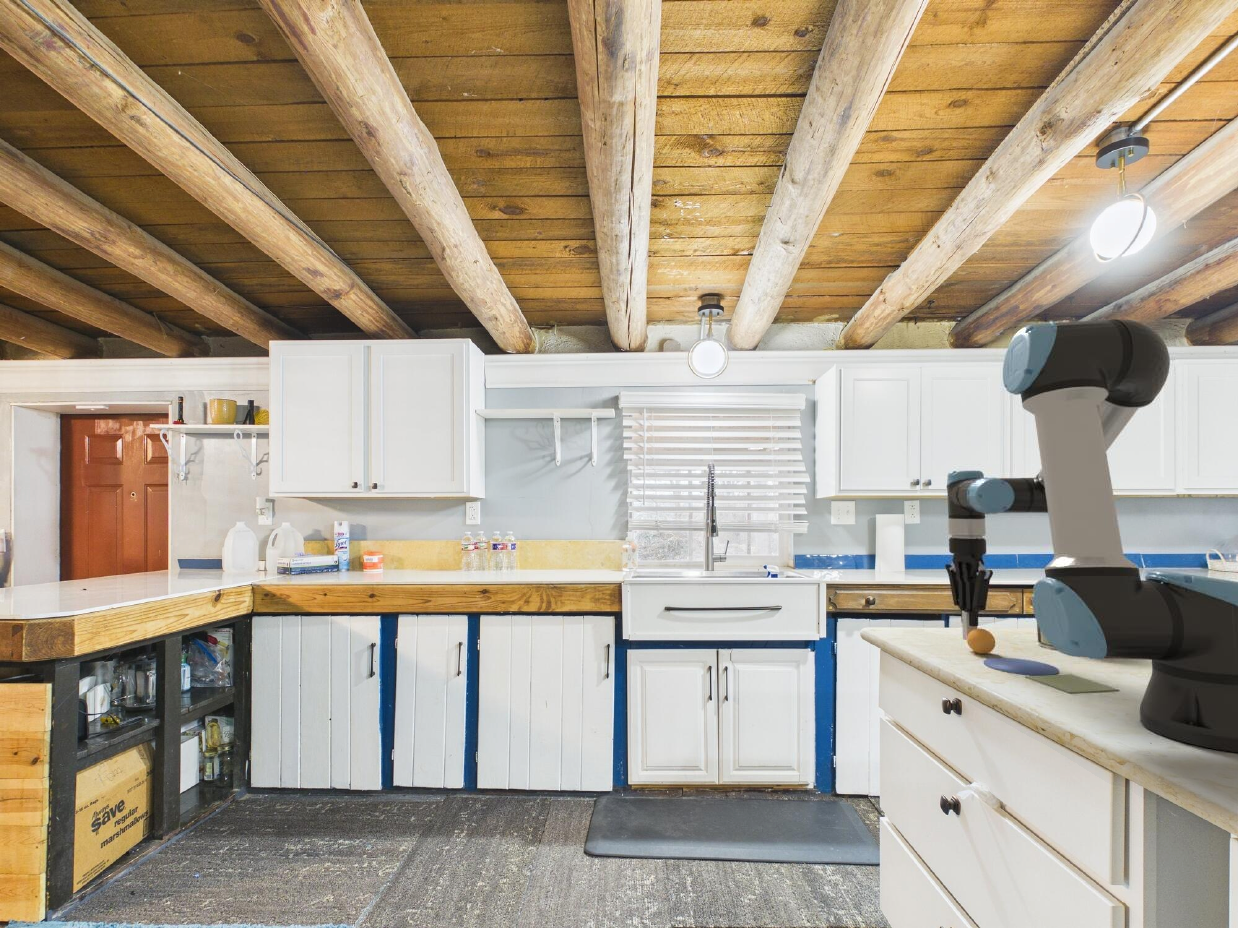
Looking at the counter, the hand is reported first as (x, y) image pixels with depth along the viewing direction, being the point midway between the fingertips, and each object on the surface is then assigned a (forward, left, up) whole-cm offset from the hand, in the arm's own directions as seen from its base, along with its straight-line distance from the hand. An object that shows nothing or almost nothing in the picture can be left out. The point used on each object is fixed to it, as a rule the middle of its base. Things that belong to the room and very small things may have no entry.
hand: (970, 639), depth 141 cm
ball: (-3, -1, 0) cm, 3 cm away
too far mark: (-25, -9, -2) cm, 27 cm away
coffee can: (+7, -22, -3) cm, 23 cm away
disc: (-14, -5, -2) cm, 15 cm away
